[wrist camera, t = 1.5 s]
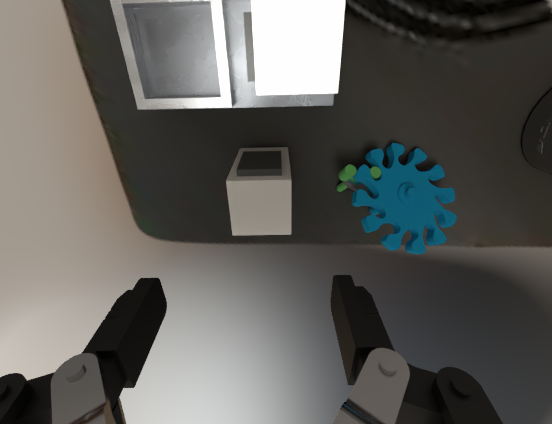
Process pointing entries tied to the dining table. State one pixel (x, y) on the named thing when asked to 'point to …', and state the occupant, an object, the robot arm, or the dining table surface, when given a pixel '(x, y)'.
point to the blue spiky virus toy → (400, 197)
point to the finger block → (260, 192)
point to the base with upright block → (231, 52)
